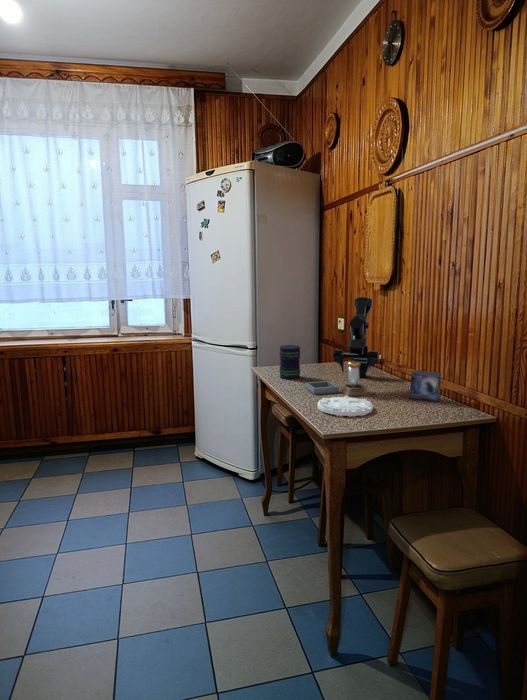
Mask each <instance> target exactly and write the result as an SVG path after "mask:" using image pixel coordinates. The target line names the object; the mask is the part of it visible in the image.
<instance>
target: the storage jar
mask: <svg viewBox="0 0 527 700" xmlns="http://www.w3.org/2000/svg"><path fill="white" fill-rule="evenodd" d="M279 359H280V360H279V363H280V364H279V379H281V380H289V381H293V380H298V379H301V376H300V374H301V365H300V359H301V346H300V345H296V344H295V345H293V344H289V345H288V344H286V345H281V346H279Z"/></svg>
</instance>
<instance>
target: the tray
mask: <svg viewBox="0 0 527 700" xmlns="http://www.w3.org/2000/svg"><path fill="white" fill-rule="evenodd" d="M304 389H305V390H306V389H307V390H306V391H308V392H309V393H311V394H312V395H315V396H316V395H327V394H338V393H340V390H339V389H340V387H339V386H338V385H336V384H334V383H333V382H331V381H330V380H328V381H327V380H326V381H311V382H310V381H309V382H304Z"/></svg>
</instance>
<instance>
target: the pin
mask: <svg viewBox="0 0 527 700" xmlns="http://www.w3.org/2000/svg"><path fill="white" fill-rule="evenodd" d="M346 365H347V366H348V369H347V370H348V371H347V372H348V373H347V374H348V375H347V378H348V380H347V381H348V382H347V384H348V387H349V388H359V384H360V378H359V366H360V365H361V362H357V361H354V360H353V361H351V360H350V361H347V362H346Z"/></svg>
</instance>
